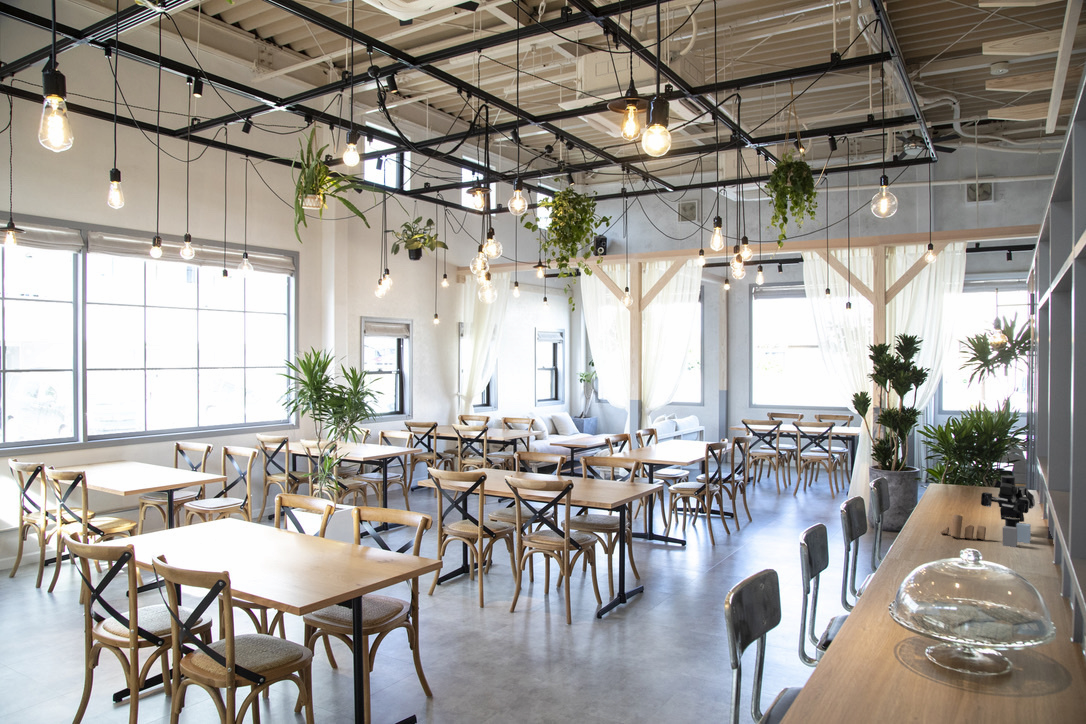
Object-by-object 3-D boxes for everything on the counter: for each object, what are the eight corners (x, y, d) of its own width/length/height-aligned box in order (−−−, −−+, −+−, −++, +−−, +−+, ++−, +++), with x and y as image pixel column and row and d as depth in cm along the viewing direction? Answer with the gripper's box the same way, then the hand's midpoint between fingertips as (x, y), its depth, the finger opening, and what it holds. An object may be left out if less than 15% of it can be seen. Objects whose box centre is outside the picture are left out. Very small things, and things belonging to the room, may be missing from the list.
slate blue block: (1017, 539, 332) (1017, 522, 332) (1030, 541, 329) (1030, 524, 329) (1016, 541, 328) (1016, 524, 329) (1029, 543, 325) (1029, 525, 325)
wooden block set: (984, 545, 332) (987, 523, 335) (982, 540, 325) (984, 518, 328) (940, 537, 343) (943, 516, 346) (937, 533, 337) (940, 512, 340)
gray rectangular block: (1003, 543, 325) (1003, 525, 325) (1017, 545, 322) (1017, 527, 322) (1002, 545, 321) (1002, 527, 321) (1016, 547, 318) (1016, 529, 318)
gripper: (985, 478, 345) (979, 485, 334) (1032, 486, 333) (1027, 493, 321) (984, 501, 347) (977, 508, 335) (1030, 509, 334) (1025, 517, 323)
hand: (1001, 506), depth 328 cm, fingers open, 9 cm apart
